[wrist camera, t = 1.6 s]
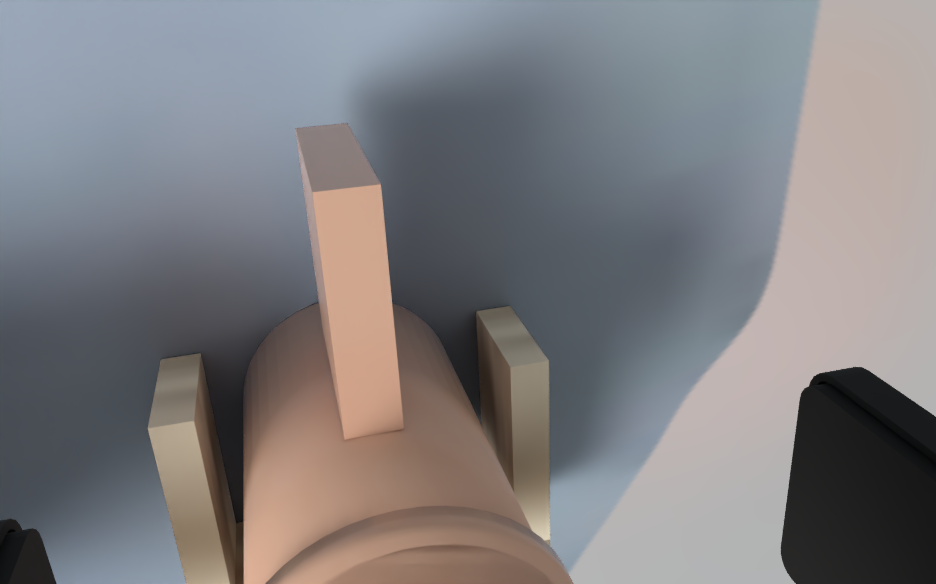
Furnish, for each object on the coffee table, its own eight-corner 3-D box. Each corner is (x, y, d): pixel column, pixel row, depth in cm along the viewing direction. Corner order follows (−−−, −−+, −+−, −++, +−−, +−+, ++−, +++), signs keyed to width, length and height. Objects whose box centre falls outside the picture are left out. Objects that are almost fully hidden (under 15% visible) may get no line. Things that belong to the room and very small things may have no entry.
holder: (161, 359, 26) (147, 428, 22) (510, 306, 28) (548, 360, 24) (206, 557, 29) (201, 645, 25) (515, 494, 31) (550, 567, 28)
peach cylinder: (179, 124, 23) (125, 292, 12) (443, 98, 24) (597, 227, 14) (253, 502, 28) (259, 844, 18) (464, 462, 30) (586, 754, 19)
